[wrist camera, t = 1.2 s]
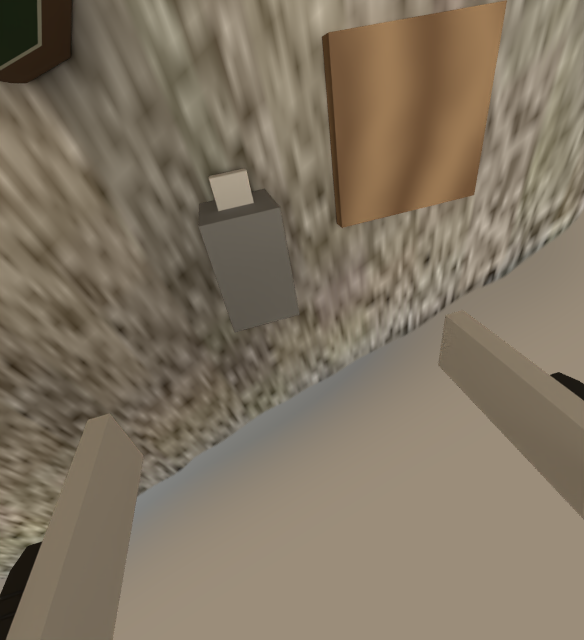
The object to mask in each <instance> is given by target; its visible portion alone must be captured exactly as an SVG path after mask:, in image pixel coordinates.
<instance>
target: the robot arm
mask: <svg viewBox="0 0 584 640" xmlns="http://www.w3.org/2000/svg"><path fill="white" fill-rule="evenodd" d="M438 365H439V366H440V368H441V369H442V370H443V371H444V372H445V373H446V374H447V375H448V376H449V377H450V378H451V379H452V380H453V381H454V382H455V383H456V384H457V386H458V387H459V388H461V390H462V391H463V392H464V393H465V394H466V395H467V396H468V397H469V398H470V399H471V400H472V401H473V402H474V403H475V405H476V406H477V407H478V408H479V409H480V410H481V411H482V412H483V413H484V414H485V415H486V416H487V417H488V418H489V419H490V421H491V422H492V423H493V424H494V425H495V426H496V427H497V428H498V429H499V430H500V431H501V432H502V433H503V434H504V435H505V436H506V437H507V438H508V440H509V441H510V442H511V443H512V444H513V445H514V446H515V447H516V448H517V449H518V450H519V451H520V452H521V453H522V454H523V456H524V457H525V458H526V459H527V460H528V461H529V462H530V463H531V464H532V465H533V466H534V467H535V468H536V469H537V470H538V471H539V472H540V474H541V475H542V476H543V477H544V478H545V479H546V480H547V481H548V482H549V483H550V484H551V485H552V486H553V487H554V488H555V489H556V491H557V492H558V493H559V494H560V495H561V496H562V497H563V498H564V499H565V500H566V501H567V502H568V503H569V504H570V505H571V506H572V507H573V509H575V511H576V512H577V513H578V514H579V515H580V516H581V517H582V518H583V519H584V384H583V383H581V382H580V381H578V380H575V379H573V378H571V377H569V376H566V375H564V374H562V373H560V372H558V373H554V374H552V375H549V374H547V373H546V372H545V371H543V370H542V369H541V368H539V367H538V366H537V365H535V364H534V363H533V362H531V361H530V360H529V359H527V358H526V357H525V356H523V355H522V354H521V353H519V352H518V351H517V350H515V349H514V348H513V347H511V346H510V345H509V344H507V343H506V342H505V341H503V340H502V339H501V338H499V337H498V336H497V335H495V334H494V333H493V332H491V331H490V330H489V329H487V328H486V327H485V326H483V325H482V324H481V323H479V322H478V321H477V320H475V319H474V318H473V317H471V316H470V315H469V314H467V313H466V312H465V311H463V310H461V311H458V312H454V313H451V314H448V315H445V321H444V328H443V336H442V342H441V349H440V355H439V363H438ZM143 458H144V456H143V455H142V453H141V452H140V451H139V449H138V448H137V447H136V446H135V444H134V443H133V442H132V441H131V439H130V438H129V437H128V436H127V434H126V433H125V432H124V431H123V429H122V428H121V427H120V425H119V424H118V423H117V422H116V420H115V419H114V418H113V417H112V415H111V414H106V415H103V416H99V417H96V418H92V419H89V420H88V421H87V423H86V426H85V429H84V432H83V434H82V437H81V440H80V442H79V445H78V448H77V450H76V453H75V456H74V458H73V461H72V464H71V466H70V469H69V472H68V474H67V477H66V480H65V482H64V485H63V488H62V490H61V493H60V496H59V498H58V501H57V504H56V507H55V509H54V512H53V515H52V517H51V520H50V523H49V525H48V528H47V531H46V533H45V536H44V539H43V541H42V542H39V543H36V544H33V545H30V546H27V547H26V549H25V550H24V552H23V553H22V555H21V556H20V558H19V559H18V560H17V562H16V563H15V565H14V566H13V568H12V569H11V571H10V573H9V575H8V577H7V580H6V582H5V585H4V587H3V590H2V592H1V594H0V640H113V634H114V628H115V622H116V616H117V610H118V604H119V598H120V593H121V587H122V581H123V575H124V569H125V563H126V558H127V551H128V546H129V540H130V534H131V528H132V522H133V517H134V511H135V504H136V499H137V493H138V487H139V481H140V475H141V469H142V464H143Z"/></svg>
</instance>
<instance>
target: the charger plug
mask: <svg viewBox="0 0 584 640" xmlns="http://www.w3.org/2000/svg"><path fill="white" fill-rule="evenodd" d="M209 181H210V184H211V188H212V191H213V194H214V198H215V200H213V201H209V202H205V203H200V204H199V229H200V232H201V235H202V238H203V241H204V244H205V247H206V250H207V253H208V256H209V259H210V262H211V265H212V268H213V270H214V273H215V276H216V279H217V282H218V285H219V288H220V291H221V294H222V297H223V300H224V303H225V306H226V309H227V312H228V314H229V317H230V320H231V323H232V326H233V329H234V332H238V331H242V330H245V329H249V328H253V327H256V326H260V325H264V324H267V323H271V322H275V321H278V320H282V319H285V318H289V317H293V316H296V315H299V309H298V304H297V298H296V293H295V287H294V281H293V276H292V270H291V265H290V259H289V254H288V248H287V243H286V237H285V232H284V226H283V221H282V215H281V210H280V207H279V206H278V204H277V203H276V202H275V201H274V200H273V198H272V197H271V196H270V195H269V194H268V193H267V191H266V190H265V189H262V190H257V191H253V192H251V188H250V184H249V180H248V175H247V171H246V169H245V168H244V169H240V170H235V171H231V172H226V173H222V174H217V175H213V176H209Z"/></svg>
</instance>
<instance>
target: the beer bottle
mask: <svg viewBox="0 0 584 640" xmlns="http://www.w3.org/2000/svg"><path fill="white" fill-rule="evenodd" d="M71 9H72V0H0V81H3V82H9V83H28V82H29V81H31V80H33V79H34V78H36V77H38V76H39V75H41V74H43V73H45V72H46V71H48V70H50V69H51V68H53V67H55V66H56V65H58V64H60V63H61V62H63V61H65V60H66V59H68V58H70V56H71Z"/></svg>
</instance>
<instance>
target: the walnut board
mask: <svg viewBox="0 0 584 640" xmlns="http://www.w3.org/2000/svg"><path fill="white" fill-rule="evenodd" d="M506 3H507V1H501V2H496V3H490V4H485V5H479V6H474V7H468V8H462V9H457V10H451V11H446V12H440V13H435V14H429V15H424V16H418V17H412V18H407V19H401V20H396V21H390V22H385V23H379V24H374V25H368V26H362V27H357V28H351V29H346V30H340V31H335V32H329V33H327V34H326V35H324V36H323V37H322V40H323V52H324V65H325V78H326V90H327V103H328V116H329V128H330V141H331V154H332V166H333V179H334V192H335V204H336V217H337V224H338V225H339V226H341V227H342V228H343V227H347V226H351V225H355V224H359V223H363V222H367V221H371V220H375V219H379V218H383V217H387V216H391V215H395V214H399V213H403V212H407V211H411V210H415V209H419V208H423V207H428V206H432V205H436V204H440V203H444V202H448V201H452V200H456V199H460V198H464V197H468V196H472V195H474V192H475V186H476V180H477V174H478V168H479V162H480V156H481V151H482V145H483V139H484V133H485V127H486V121H487V115H488V109H489V103H490V97H491V91H492V86H493V80H494V74H495V68H496V62H497V56H498V50H499V44H500V38H501V32H502V26H503V20H504V15H505V9H506Z"/></svg>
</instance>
